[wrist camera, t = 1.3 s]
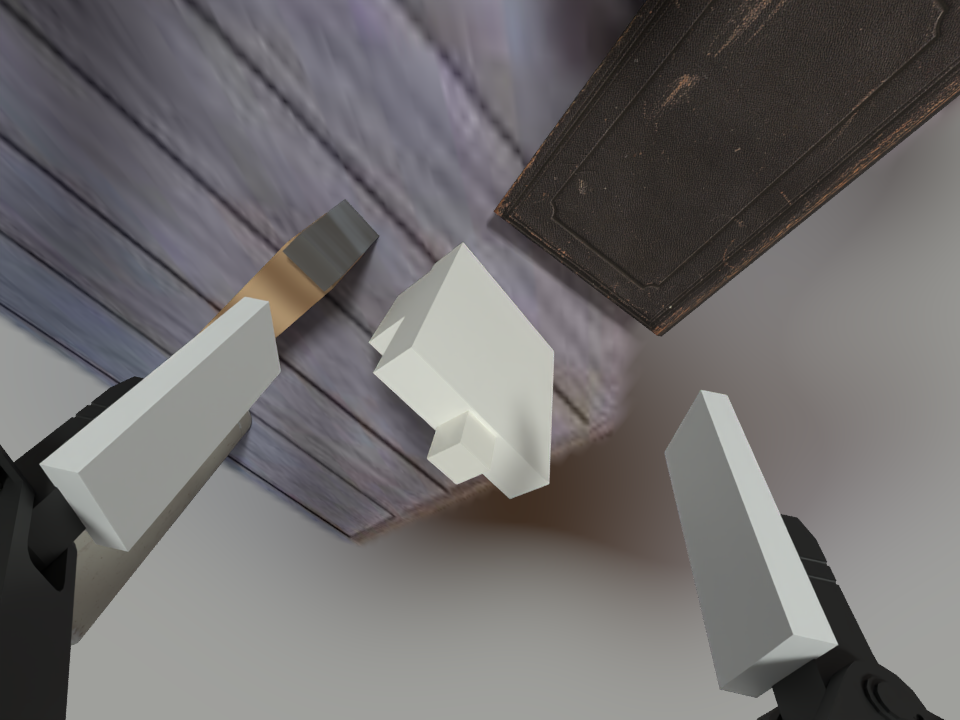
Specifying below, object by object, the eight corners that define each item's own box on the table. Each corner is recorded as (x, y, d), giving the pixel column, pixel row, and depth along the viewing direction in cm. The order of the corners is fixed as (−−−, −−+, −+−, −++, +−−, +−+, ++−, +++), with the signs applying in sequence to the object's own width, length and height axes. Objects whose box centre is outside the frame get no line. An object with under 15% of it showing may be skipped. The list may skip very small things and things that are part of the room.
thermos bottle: (196, 429, 52) (-79, 726, 30) (170, 376, 47) (-181, 681, 25) (260, 438, 51) (25, 750, 29) (239, 384, 47) (-61, 709, 24)
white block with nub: (396, 293, 37) (303, 436, 24) (463, 241, 33) (397, 376, 20) (486, 387, 42) (450, 551, 28) (554, 351, 38) (547, 518, 25)
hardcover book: (497, 201, 32) (493, 211, 30) (811, -234, 19) (837, -262, 17) (658, 324, 36) (663, 340, 34) (1011, 30, 23) (1050, 30, 21)
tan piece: (248, 355, 44) (202, 402, 38) (213, 326, 42) (160, 371, 37) (381, 238, 34) (345, 278, 29) (342, 196, 33) (297, 229, 27)
